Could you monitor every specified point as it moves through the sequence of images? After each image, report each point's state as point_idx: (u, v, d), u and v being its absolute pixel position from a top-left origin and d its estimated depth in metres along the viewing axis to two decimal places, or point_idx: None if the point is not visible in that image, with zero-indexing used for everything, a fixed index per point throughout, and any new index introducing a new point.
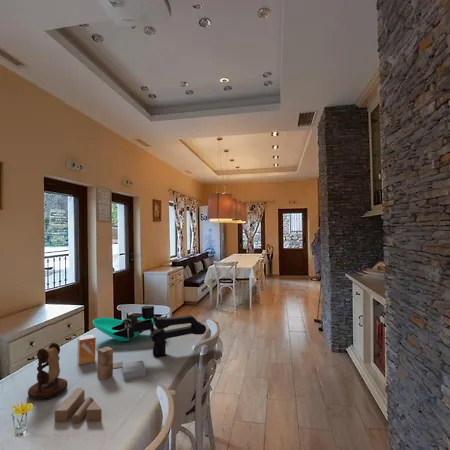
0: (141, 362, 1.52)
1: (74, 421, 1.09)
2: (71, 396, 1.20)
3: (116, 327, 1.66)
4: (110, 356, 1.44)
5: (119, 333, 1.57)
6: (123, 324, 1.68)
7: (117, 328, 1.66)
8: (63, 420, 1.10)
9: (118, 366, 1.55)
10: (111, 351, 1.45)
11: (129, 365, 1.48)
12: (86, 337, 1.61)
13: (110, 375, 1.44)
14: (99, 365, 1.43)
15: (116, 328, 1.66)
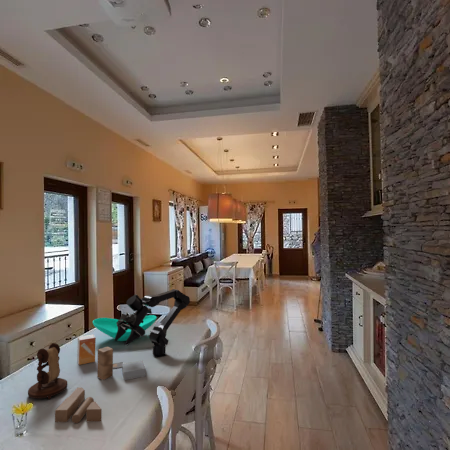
0: (141, 362, 1.52)
1: (74, 421, 1.09)
2: (71, 396, 1.20)
3: (118, 336, 1.56)
4: (110, 356, 1.44)
5: (130, 339, 1.50)
6: (121, 328, 1.58)
7: (119, 335, 1.56)
8: (63, 420, 1.10)
9: (118, 366, 1.55)
10: (111, 351, 1.45)
11: (129, 365, 1.48)
12: (86, 337, 1.61)
13: (110, 375, 1.44)
14: (99, 365, 1.43)
15: (118, 336, 1.56)
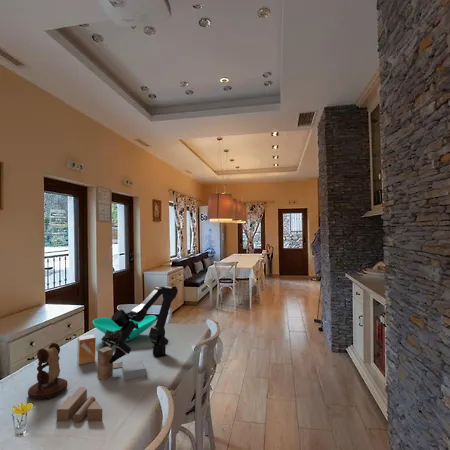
0: (141, 362, 1.52)
1: (75, 420, 1.09)
2: (73, 395, 1.20)
3: None
4: (110, 356, 1.44)
5: (114, 357, 1.43)
6: (106, 345, 1.51)
7: None
8: (65, 419, 1.10)
9: (118, 366, 1.55)
10: (111, 351, 1.45)
11: (129, 365, 1.48)
12: (86, 337, 1.61)
13: (110, 375, 1.44)
14: (99, 365, 1.43)
15: None
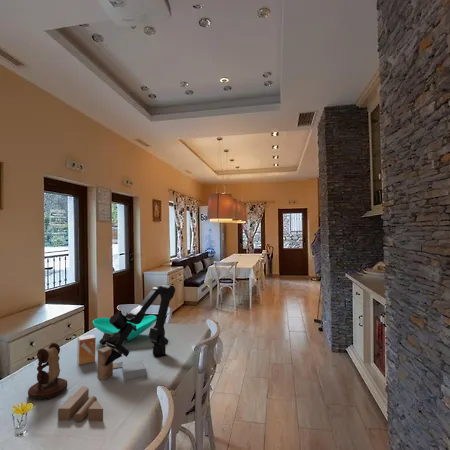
0: (141, 362, 1.52)
1: (76, 419, 1.10)
2: (75, 394, 1.21)
3: None
4: None
5: (110, 359, 1.43)
6: None
7: None
8: (66, 418, 1.11)
9: (118, 366, 1.55)
10: (111, 351, 1.45)
11: (129, 365, 1.48)
12: (86, 337, 1.61)
13: (110, 375, 1.44)
14: (99, 365, 1.43)
15: None
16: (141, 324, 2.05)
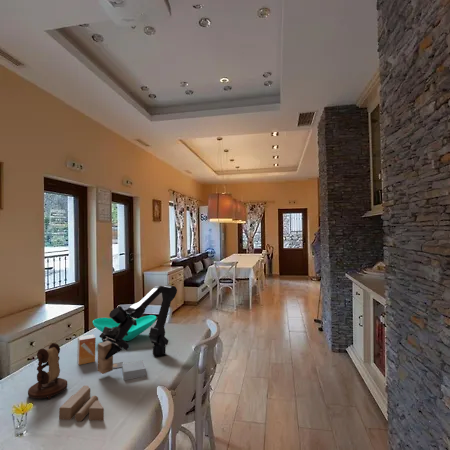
0: (141, 362, 1.52)
1: (77, 419, 1.10)
2: (77, 394, 1.21)
3: None
4: None
5: (110, 353, 1.43)
6: None
7: None
8: (67, 417, 1.11)
9: (118, 366, 1.55)
10: (111, 345, 1.45)
11: (129, 365, 1.48)
12: (86, 337, 1.61)
13: (110, 369, 1.44)
14: (99, 359, 1.43)
15: None
16: (141, 324, 2.05)
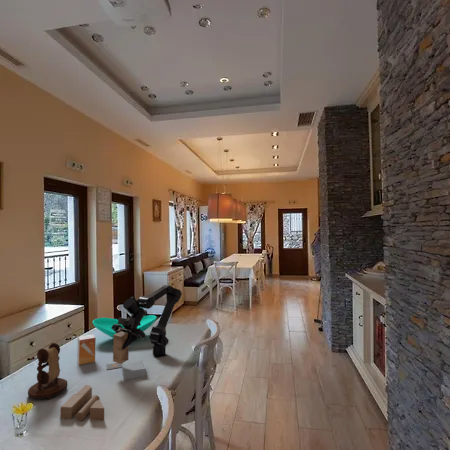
0: (141, 362, 1.52)
1: (78, 418, 1.10)
2: (78, 393, 1.22)
3: None
4: None
5: (127, 343, 1.45)
6: None
7: None
8: (68, 417, 1.12)
9: (118, 366, 1.55)
10: (127, 335, 1.46)
11: (129, 365, 1.48)
12: (86, 337, 1.61)
13: (126, 359, 1.46)
14: (116, 350, 1.44)
15: None
16: (141, 324, 2.05)
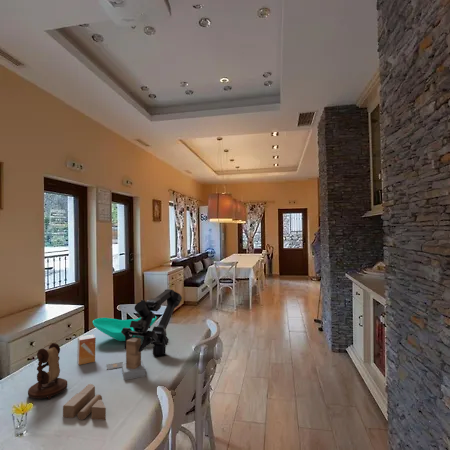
0: (141, 362, 1.52)
1: (80, 417, 1.11)
2: (81, 392, 1.23)
3: None
4: (139, 346, 1.48)
5: (143, 346, 1.47)
6: (129, 336, 1.52)
7: None
8: (70, 415, 1.12)
9: (118, 366, 1.55)
10: (140, 341, 1.49)
11: None
12: (86, 337, 1.61)
13: (139, 364, 1.48)
14: (129, 355, 1.46)
15: None
16: None
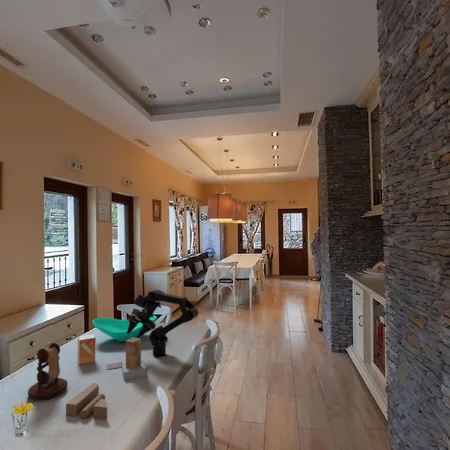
0: (141, 362, 1.52)
1: (82, 416, 1.12)
2: (85, 391, 1.24)
3: (129, 329, 1.67)
4: (139, 346, 1.48)
5: (141, 332, 1.61)
6: (132, 322, 1.69)
7: (131, 329, 1.67)
8: (73, 414, 1.13)
9: (118, 366, 1.55)
10: (139, 341, 1.48)
11: None
12: (86, 337, 1.61)
13: (139, 365, 1.48)
14: (128, 356, 1.46)
15: (130, 330, 1.67)
16: (141, 324, 2.05)
